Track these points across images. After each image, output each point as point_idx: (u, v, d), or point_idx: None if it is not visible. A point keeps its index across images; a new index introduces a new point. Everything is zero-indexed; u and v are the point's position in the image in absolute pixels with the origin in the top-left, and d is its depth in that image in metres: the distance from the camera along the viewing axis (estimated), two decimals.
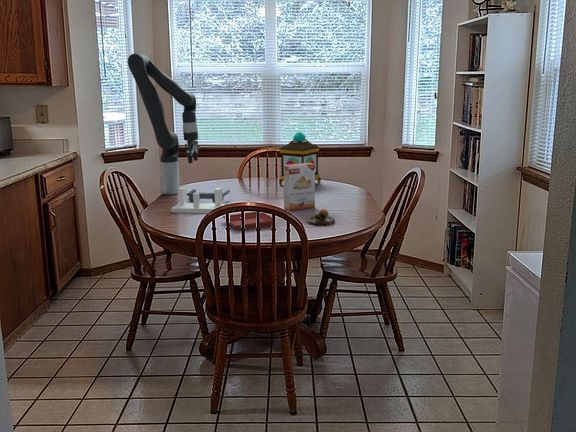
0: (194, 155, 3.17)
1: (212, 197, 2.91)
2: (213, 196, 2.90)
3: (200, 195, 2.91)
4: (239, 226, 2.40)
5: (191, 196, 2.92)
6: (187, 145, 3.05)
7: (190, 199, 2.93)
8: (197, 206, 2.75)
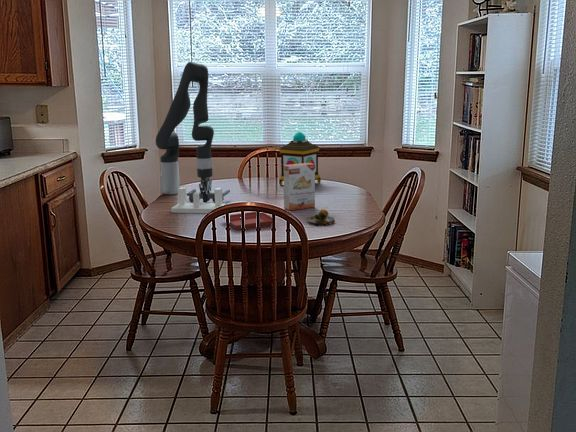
0: None
1: (212, 197, 2.91)
2: (213, 196, 2.90)
3: (200, 195, 2.91)
4: (239, 226, 2.40)
5: (191, 196, 2.92)
6: (201, 186, 2.85)
7: (190, 199, 2.93)
8: (197, 206, 2.75)
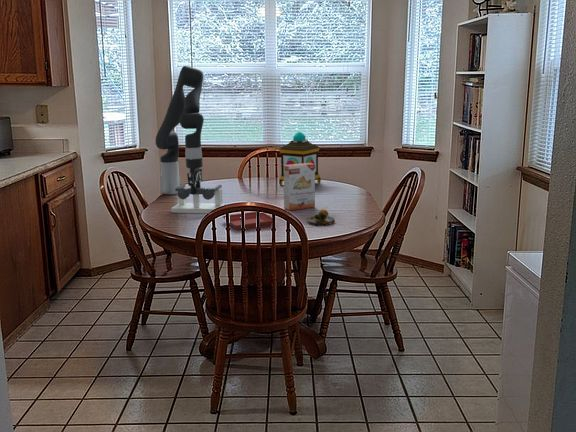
0: (197, 185, 2.76)
1: (202, 192, 2.72)
2: (203, 191, 2.72)
3: (189, 190, 2.73)
4: (239, 226, 2.40)
5: (180, 191, 2.74)
6: (190, 175, 2.65)
7: (179, 194, 2.74)
8: (197, 206, 2.75)
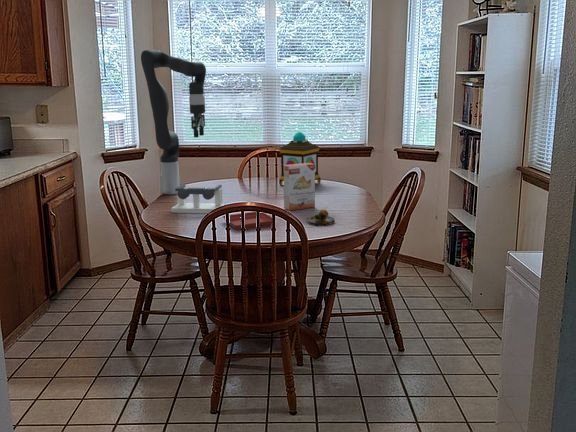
0: (200, 130, 2.98)
1: (202, 192, 2.72)
2: (203, 191, 2.72)
3: (189, 190, 2.73)
4: (239, 226, 2.40)
5: (180, 191, 2.74)
6: (193, 118, 2.87)
7: (179, 194, 2.74)
8: (197, 206, 2.75)
